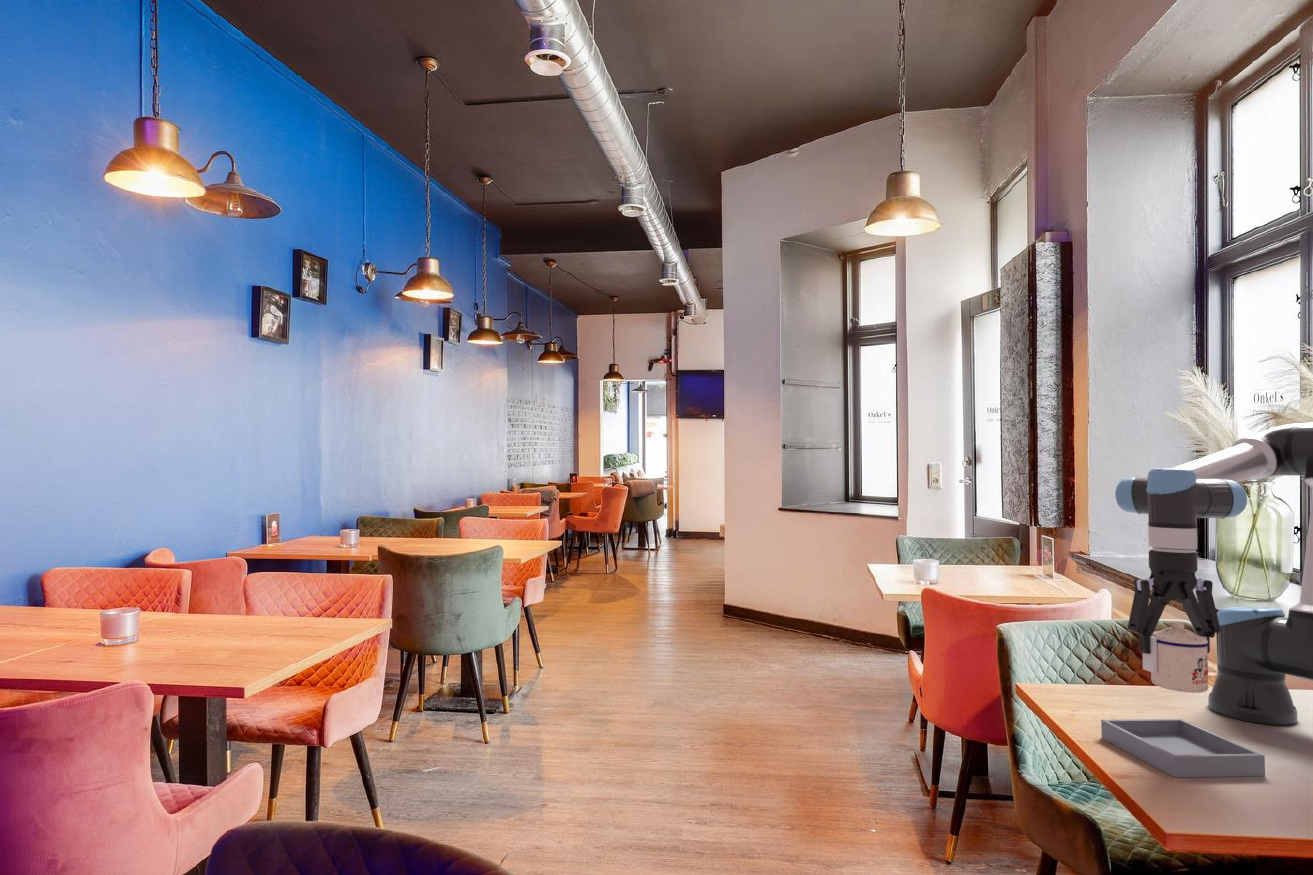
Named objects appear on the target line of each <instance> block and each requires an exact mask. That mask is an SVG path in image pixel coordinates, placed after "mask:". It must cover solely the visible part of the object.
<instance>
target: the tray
mask: <svg viewBox="0 0 1313 875" xmlns="http://www.w3.org/2000/svg"><path fill="white" fill-rule="evenodd" d="M1100 722H1101V725H1100V727H1101V739H1102V740H1105V741H1106V742H1109V743H1110V744H1112V745H1114V746H1116V747H1117V748H1120V749H1122V750H1123V751H1125V752H1127V753H1129V754H1130V755H1132V756H1133V757H1135V758H1138V759H1140V760H1141V761H1143V762H1145V763H1147V764H1149V765H1151V766H1153V767H1154V768H1156V769H1158V770H1160V771H1162V772H1164V773H1165V774H1168V775H1169V776H1171V777H1172V778H1210V777H1211V778H1212V777H1213V778H1215V777H1217V778H1219V777H1223V778H1225V777H1266V759H1265V756H1266V755H1265V754H1262V753H1261V752H1258V751H1256V750H1253V749H1251V748H1249V747H1246V746H1244V745H1242V744H1240V743H1237V742H1235V741H1233V740H1232V739H1229V738H1225V737H1223V736H1221V735H1219V734H1217V733H1215V732H1212V731H1210V730H1207V729H1205V728H1203V727H1200V726H1198V725H1196V724H1194V723H1191V722H1189V721H1187V720H1184V719H1182V718H1149V719H1148V718H1146V719H1144V718H1137V719H1101V720H1100Z"/></svg>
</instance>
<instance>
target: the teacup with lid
mask: <svg viewBox="0 0 1313 875" xmlns="http://www.w3.org/2000/svg"><path fill="white" fill-rule="evenodd" d="M1170 625H1171V626H1170V627H1165V628H1163V629H1161V630H1156V631H1155V630H1154V632H1153V634H1152V636H1153V637H1157V640H1156V642H1157V673H1152V672H1150V674H1151V675H1150V677H1151V678H1150V680H1151V682H1152V684H1154V685H1156V686H1157V687H1159V688H1162V689H1165V690H1170V691H1175V692H1180V693H1181V692H1182V693H1192V694H1194V693H1196V694H1199V693H1205V692H1208V690H1209V662H1208V660H1209V659H1208V657H1209V655H1208V654H1209V653H1207V646H1208V645H1209V643H1208V641H1207V639H1206V638H1204V637H1201V636H1198V635H1197V633H1196V632H1193V631H1191V630H1190V629H1187V628H1185V624H1184V623H1182V622H1177V621H1175V622H1174V621H1173V622H1171V624H1170Z"/></svg>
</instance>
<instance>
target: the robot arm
mask: <svg viewBox="0 0 1313 875" xmlns="http://www.w3.org/2000/svg"><path fill="white" fill-rule="evenodd" d="M1274 476H1275V477H1276V476H1279V477H1281V476H1298V477H1299V476H1301V477H1304V483H1305V484H1307V485H1308V487H1310V488H1311V489H1312V491H1313V422H1312V421H1311V422H1293V423H1288V424H1283V425H1279V426H1274V427H1272V428H1269V429H1266V430H1262V431H1259V432H1256V433H1254V434H1251V435H1248V436H1245V437H1242V438H1239V439H1237V440H1236V441H1235V442H1234V443H1233V444H1232V445H1231V446H1230V447H1228V448H1226V449H1223V450H1220V451H1217V452H1214V453H1212V454H1208V455H1206V456H1203V457H1200V458H1198V459H1195V460H1192V461H1189V462H1186V463H1184V464H1180V465H1178V466H1175V467H1171V468H1162V467H1161V468H1160V467H1159V468H1152V469H1150V470H1149V471H1148V473H1147V476H1146V477H1138V476H1135V477H1126V478H1124V479H1122V480H1121V481H1119V483H1118V484H1117V486H1116V487H1115V494H1114V495H1115V496H1114V497H1115V499H1116V504H1117V506H1118V507H1119V508H1120V509H1121V510H1123V511H1125V512H1127V513H1134V514H1138V515H1148V516H1147V517H1148V522H1147V528H1148V529H1147V536H1148V538H1147V541H1148V547H1150V548H1151V549H1150V550H1148V568H1149V569H1150V575H1149V578H1145V579H1144V578H1143V579H1141V578H1135V579H1134V580H1133V585H1134V594H1133V599H1132V605H1131V608H1130V615H1129V617H1128V618H1129V620H1128V624H1127V629H1128V631H1130V632H1134V633H1136V634H1137V635H1138V649H1139V652H1140V653H1142V670H1145V671H1147V672H1149V673H1151V672H1152V673H1157V642H1156V640H1157V637H1153V636H1152V634H1153V632H1155V630H1156V627H1157V625H1158V623H1159V621H1160V619H1161V616H1162V614H1163V612H1164V611H1165V607H1166V606H1168V605H1169V604H1170V602H1171V601H1178V602H1179V603H1180V604H1181V605H1182V607H1183V608H1182V609H1183V610H1184V611H1185V613H1186V615H1187V617H1188V619H1189V622H1190V623H1191V625H1192V627H1193V629H1194V631H1195V632H1194V633H1195V634H1196V635H1198V636H1201V637H1204V638H1206V639H1207V641H1208V643H1209V645H1208V646H1207V654H1209V653H1210V652H1211V645H1210V643H1211V641H1210V638H1212V639H1213V638H1215V637H1216V663H1217V664H1216V665H1217V671H1216V672H1217V673H1216V676H1215V679H1214V683H1213V685H1212V688H1211V692H1210V693H1209V695H1208V698H1207V699H1208V701H1207V702H1208V705H1207V706H1208V708H1209V709H1211V711H1214V712H1216V713H1217V714H1220V715H1223V716H1225V717H1228V718H1229V717H1230V718H1233V719H1237V720H1241V721H1247V722H1251V723H1257V724H1265V725H1278V726H1282V725H1283V726H1285V725H1287V726H1288V725H1293V724H1296V723H1297V722H1298V709H1297V707H1296V706H1295V705H1294V702H1293V699H1292V696H1291V692H1290V690H1289V688H1288V686H1287V683H1286V682H1287V681H1286V675H1288V676H1292V677H1296V678H1300V679H1305V680H1308V681H1312V682H1313V493H1312V494H1311V505H1310V513H1309V521H1308V531H1307V536H1306V537H1307V538H1306V545H1305V546H1306V547H1305V555H1304V556H1305V557H1304V561H1303V562H1304V563H1303V564H1304V565H1303V569H1302V570H1303V573H1302V581H1301V588H1300V597H1299V602H1298V603H1297V604H1295V605H1294V606H1292V607H1290V608H1288V615H1287V617H1285V616H1286V614H1285V613H1284V610H1283V609H1282V608H1278V607H1266V606H1265V607H1264V606H1262V607H1261V606H1231V607H1230V606H1229V607H1223V608H1219V610H1218V611H1217V607H1216V603H1215V600H1214V597H1213V596H1214V595H1213V585H1214V584H1213V581H1212V580H1209V579H1203V578H1197V577H1196V573H1197V571H1198V553H1196V552H1195V550H1197V549H1198V531H1197V530H1198V529H1197V519H1220V520H1221V519H1222V520H1224V519H1226V518H1233V517H1237V516H1239V515H1240V514H1242V513H1243V512H1244V511H1245V509H1246V507H1247V504H1248V495H1247V491H1246V490H1245V488H1244V487H1243V486H1242V485H1241V484H1239V483H1242V482H1244V481H1246V480H1249V479H1251V480H1262V479H1263V480H1264V479H1266V478H1269V477H1274ZM1194 589H1195V593H1194ZM1151 591H1152V592H1151Z"/></svg>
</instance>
